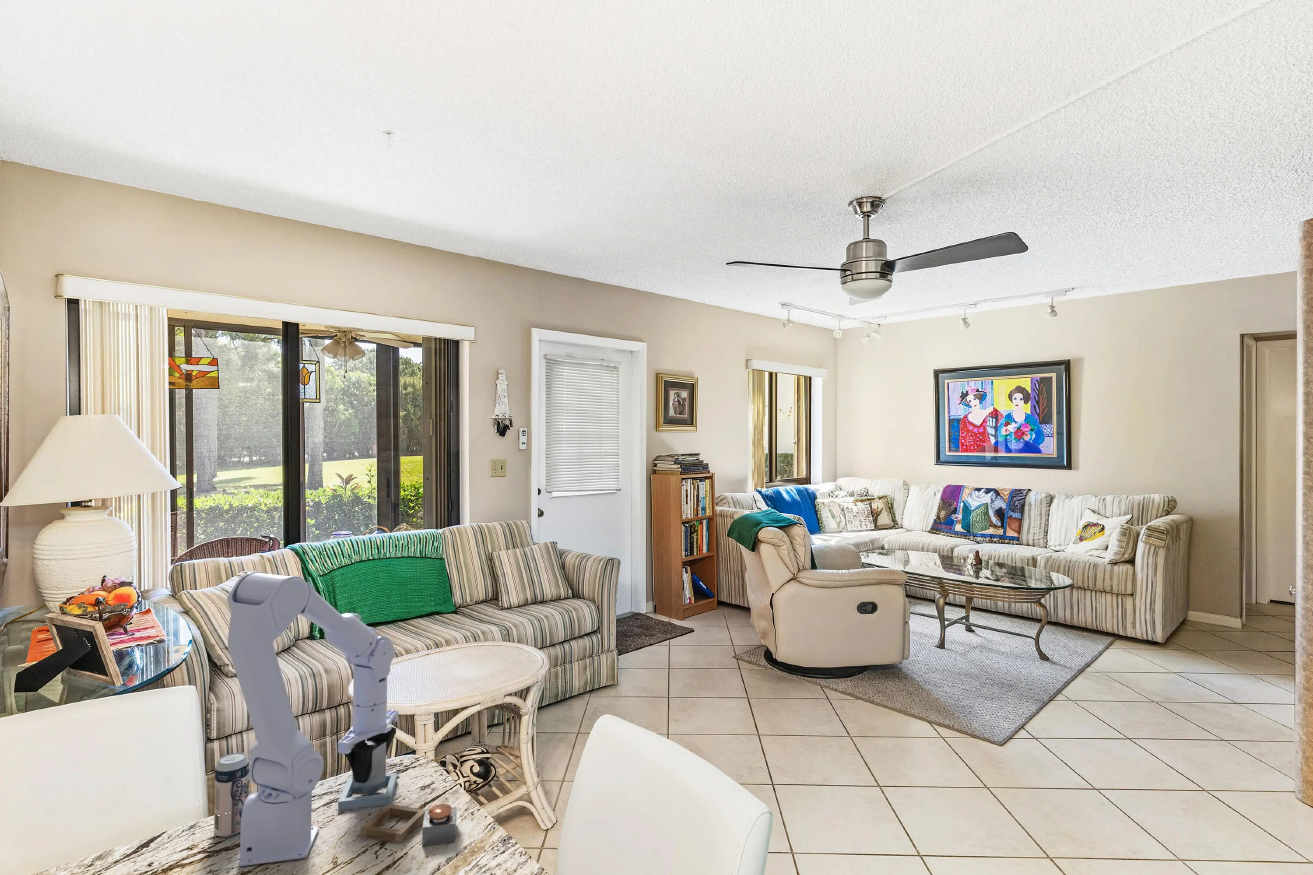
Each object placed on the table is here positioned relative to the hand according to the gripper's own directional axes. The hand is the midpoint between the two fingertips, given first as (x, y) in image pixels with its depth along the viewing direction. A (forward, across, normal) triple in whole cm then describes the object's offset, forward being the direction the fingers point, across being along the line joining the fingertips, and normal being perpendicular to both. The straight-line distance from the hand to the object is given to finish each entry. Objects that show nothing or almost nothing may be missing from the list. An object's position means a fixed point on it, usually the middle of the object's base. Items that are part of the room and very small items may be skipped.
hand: (369, 775), depth 122 cm
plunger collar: (+3, -8, -19) cm, 21 cm away
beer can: (+4, -15, +15) cm, 21 cm away
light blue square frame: (+3, 0, 0) cm, 3 cm away
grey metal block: (+2, 0, 0) cm, 2 cm away
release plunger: (+3, -8, -19) cm, 21 cm away
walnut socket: (+3, -8, -11) cm, 14 cm away
